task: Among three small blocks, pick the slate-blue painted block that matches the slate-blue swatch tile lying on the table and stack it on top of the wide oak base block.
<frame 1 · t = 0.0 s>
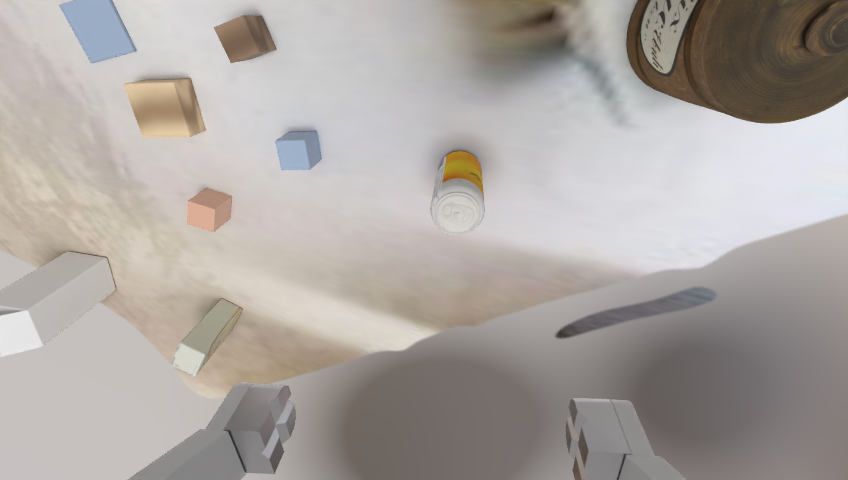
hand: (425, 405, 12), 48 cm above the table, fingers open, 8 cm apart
blue cube: (306, 145, 59), on the table
swatch tile: (100, 28, 54), on the table
walnut cube: (256, 38, 52), on the table
oak base: (176, 105, 58), on the table
wooden container: (692, 26, 47), on the table
skincare box: (227, 312, 76), on the table
milk carton: (94, 269, 74), on the table
beer can: (459, 169, 58), on the table
terracotta cube: (219, 203, 65), on the table
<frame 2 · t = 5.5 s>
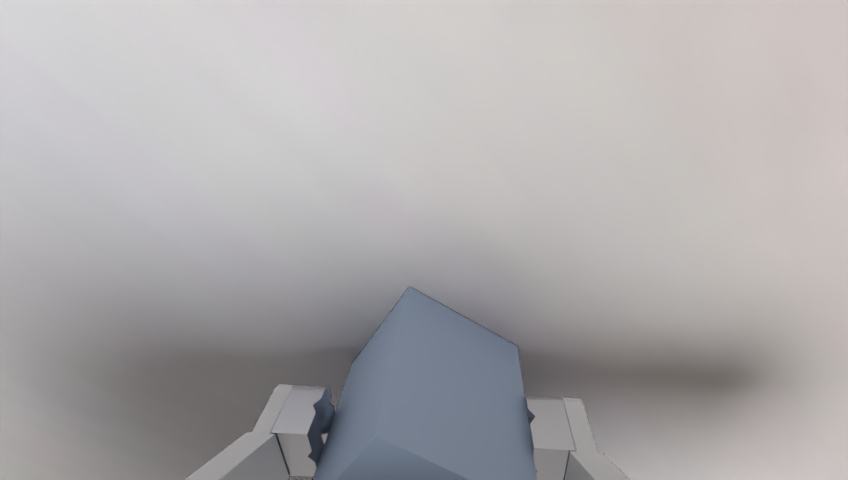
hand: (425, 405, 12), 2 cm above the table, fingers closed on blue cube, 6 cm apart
blue cube: (430, 355, 14), on the table, touching gripper
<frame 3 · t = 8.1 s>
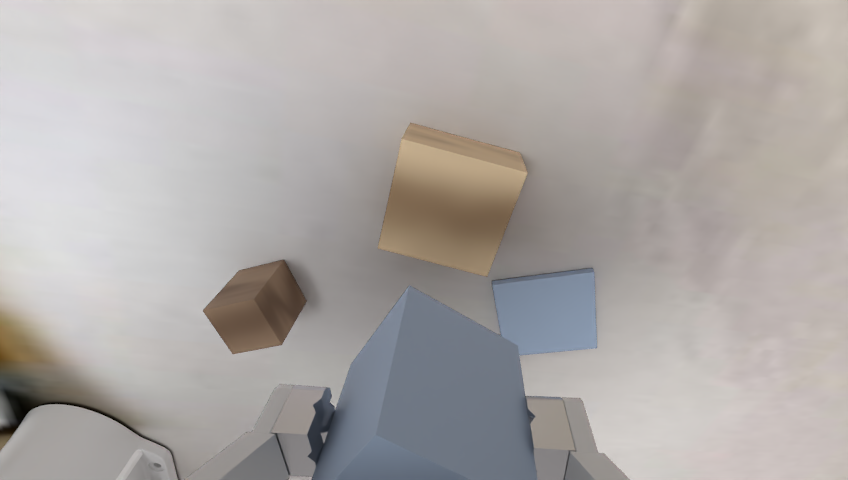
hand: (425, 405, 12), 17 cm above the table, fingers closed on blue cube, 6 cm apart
blue cube: (431, 355, 13), point 15 cm above the table, touching gripper
swatch tile: (545, 313, 31), on the table
walnut cube: (273, 285, 32), on the table
oak base: (450, 187, 27), on the table
when the fingers open (7 cm above the table, at t = 10.7 s): blue cube drops 1 cm, resting on oak base.
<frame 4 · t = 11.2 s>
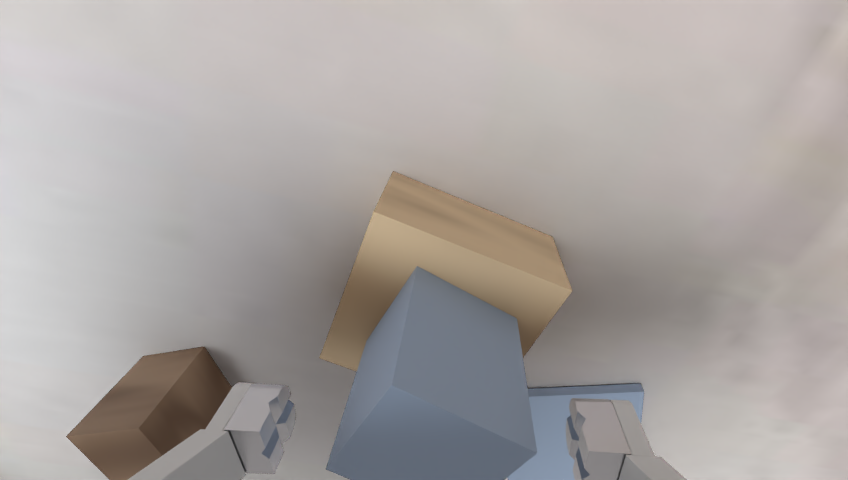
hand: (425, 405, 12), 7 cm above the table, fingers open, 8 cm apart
blue cube: (438, 330, 15), point 4 cm above the table, touching oak base
swatch tile: (567, 432, 22), on the table
walnut cube: (192, 377, 23), on the table
oak base: (441, 267, 18), on the table, touching blue cube
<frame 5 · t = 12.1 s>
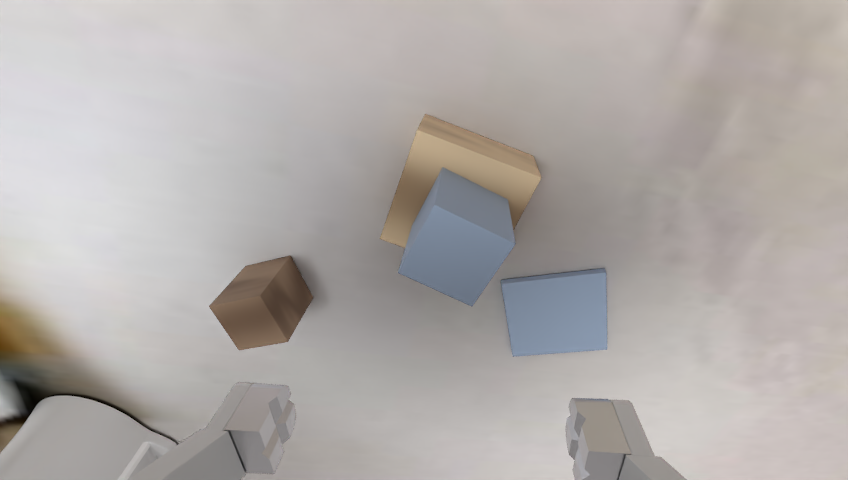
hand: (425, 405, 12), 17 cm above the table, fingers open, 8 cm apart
blue cube: (458, 212, 23), point 4 cm above the table, touching oak base
swatch tile: (554, 313, 30), on the table
walnut cube: (280, 281, 32), on the table
oak base: (458, 184, 27), on the table, touching blue cube
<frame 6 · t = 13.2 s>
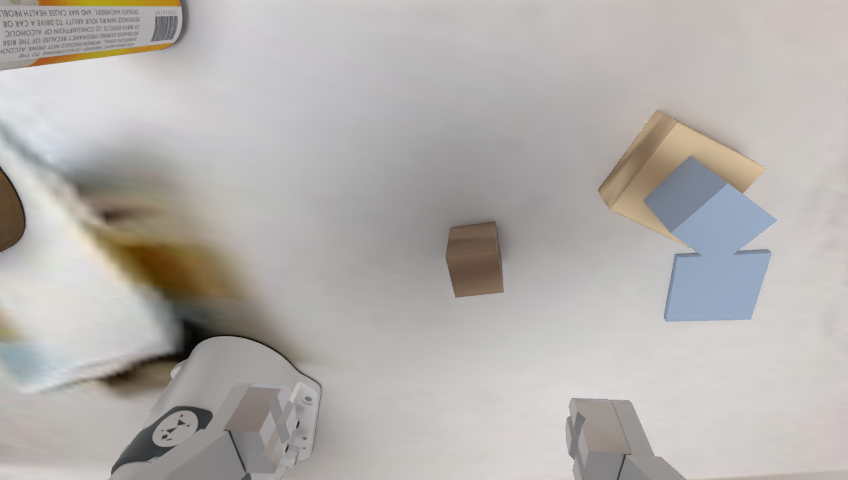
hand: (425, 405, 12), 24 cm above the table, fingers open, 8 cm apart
blue cube: (686, 193, 29), point 4 cm above the table, touching oak base
swatch tile: (712, 286, 36), on the table
walnut cube: (476, 243, 37), on the table
oak base: (662, 170, 32), on the table, touching blue cube
beer can: (151, 4, 31), on the table
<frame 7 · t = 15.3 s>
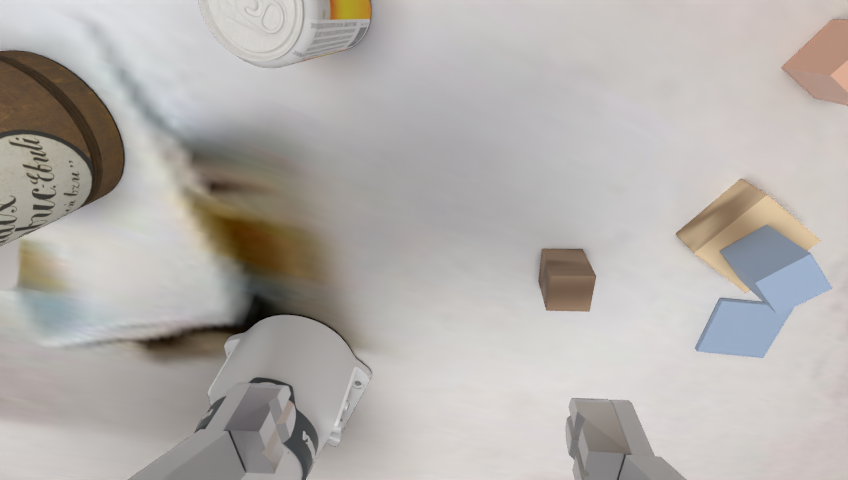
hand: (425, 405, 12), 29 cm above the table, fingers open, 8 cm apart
blue cube: (753, 253, 36), point 4 cm above the table, touching oak base
swatch tile: (740, 327, 44), on the table
walnut cube: (559, 265, 43), on the table
oak base: (730, 226, 39), on the table, touching blue cube
wooden container: (54, 131, 41), on the table
beer can: (336, 8, 33), on the table
terracotta cube: (822, 60, 32), on the table
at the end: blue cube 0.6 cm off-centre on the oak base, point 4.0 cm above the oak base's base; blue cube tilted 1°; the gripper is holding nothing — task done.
